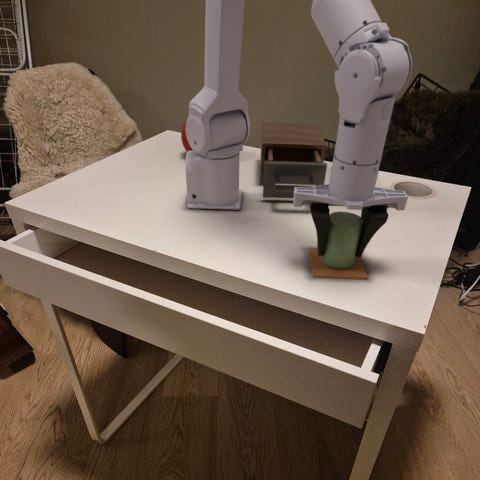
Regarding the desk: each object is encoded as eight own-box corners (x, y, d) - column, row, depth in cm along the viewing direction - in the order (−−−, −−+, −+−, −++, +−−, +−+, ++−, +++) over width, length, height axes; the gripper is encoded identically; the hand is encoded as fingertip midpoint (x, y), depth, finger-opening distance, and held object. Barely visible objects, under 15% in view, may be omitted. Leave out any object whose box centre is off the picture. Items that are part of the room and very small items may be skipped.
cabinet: (319, 186, 83) (326, 144, 78) (259, 184, 83) (261, 142, 78) (313, 162, 93) (318, 124, 88) (260, 161, 94) (262, 122, 89)
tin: (322, 268, 59) (330, 226, 55) (319, 250, 63) (325, 210, 59) (356, 269, 59) (366, 228, 55) (350, 252, 63) (359, 212, 58)
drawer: (324, 209, 73) (330, 174, 69) (262, 207, 73) (264, 171, 69) (315, 174, 86) (319, 142, 82) (262, 172, 86) (264, 140, 82)
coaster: (312, 277, 58) (313, 274, 58) (308, 249, 64) (308, 247, 64) (367, 279, 58) (367, 276, 58) (357, 251, 64) (358, 249, 64)
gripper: (300, 167, 48) (289, 266, 57) (425, 171, 48) (395, 270, 57) (296, 147, 54) (287, 240, 62) (409, 151, 53) (384, 244, 62)
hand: (338, 253), depth 60 cm, fingers closed on tin, 5 cm apart
